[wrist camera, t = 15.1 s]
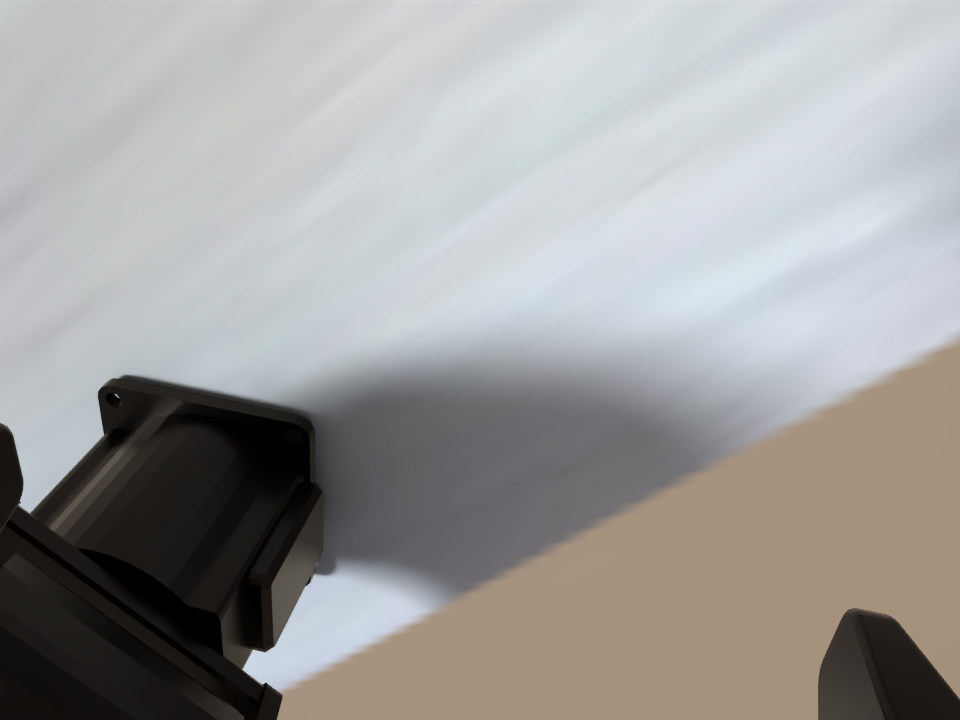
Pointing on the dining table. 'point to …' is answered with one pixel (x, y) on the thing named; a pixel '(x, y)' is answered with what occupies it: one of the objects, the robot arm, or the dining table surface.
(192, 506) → the robot arm
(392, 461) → the dining table surface
